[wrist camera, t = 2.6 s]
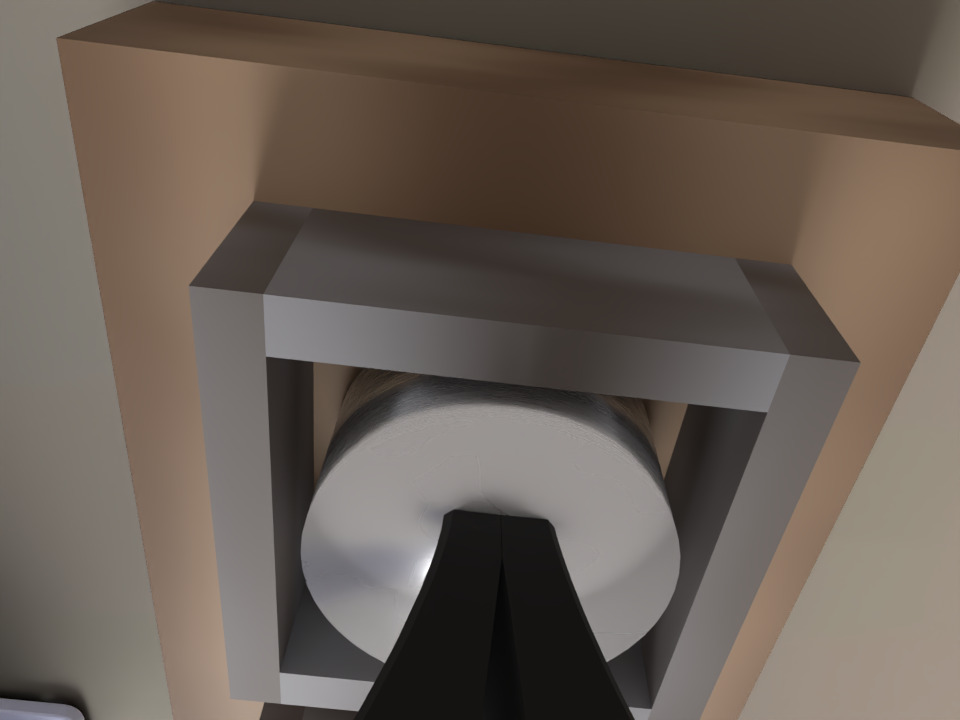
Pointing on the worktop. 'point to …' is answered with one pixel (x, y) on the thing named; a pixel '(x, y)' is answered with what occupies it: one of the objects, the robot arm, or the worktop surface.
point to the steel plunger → (487, 498)
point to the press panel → (489, 307)
